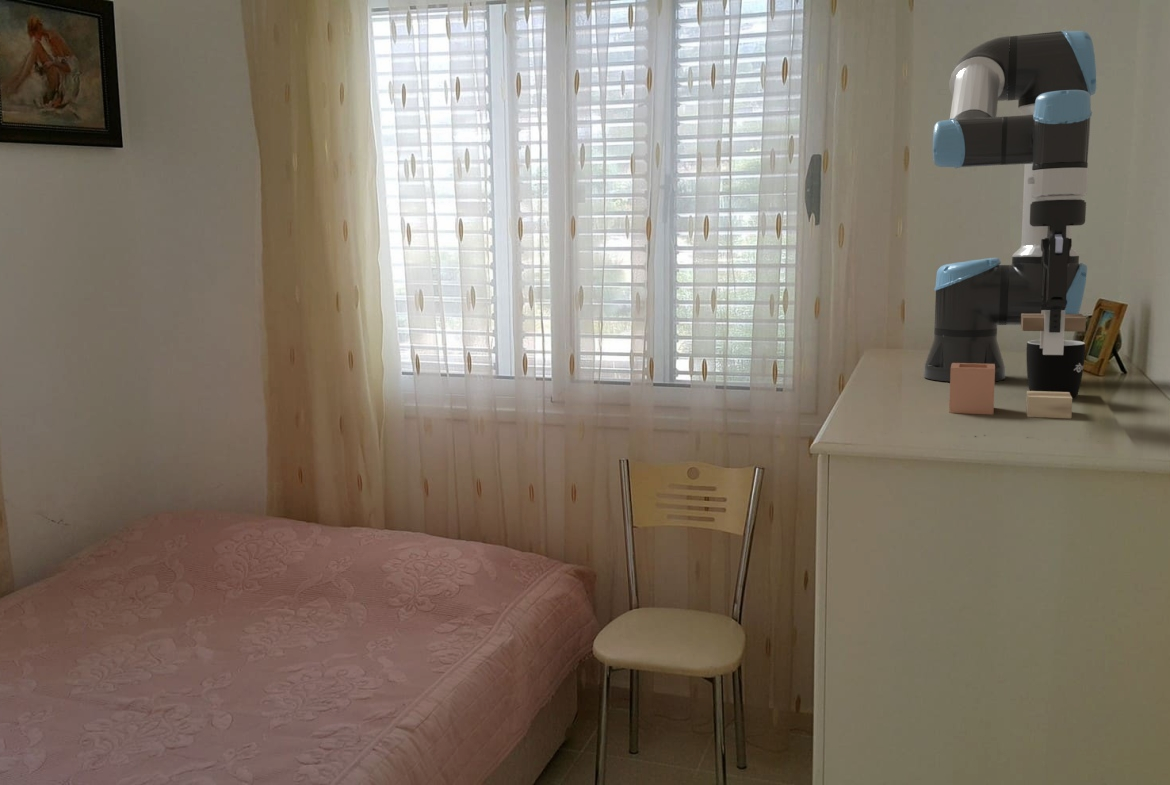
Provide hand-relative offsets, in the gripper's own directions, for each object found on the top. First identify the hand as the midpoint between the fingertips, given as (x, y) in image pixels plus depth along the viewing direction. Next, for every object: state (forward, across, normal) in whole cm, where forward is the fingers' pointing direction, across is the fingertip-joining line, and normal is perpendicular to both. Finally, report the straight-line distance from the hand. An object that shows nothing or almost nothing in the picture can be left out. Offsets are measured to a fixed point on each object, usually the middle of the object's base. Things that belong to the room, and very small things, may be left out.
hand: (1051, 351), depth 154 cm
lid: (-3, 0, 0) cm, 3 cm away
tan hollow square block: (+11, -1, -11) cm, 15 cm away
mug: (+11, -20, +2) cm, 23 cm away
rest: (+11, 0, 0) cm, 11 cm away
